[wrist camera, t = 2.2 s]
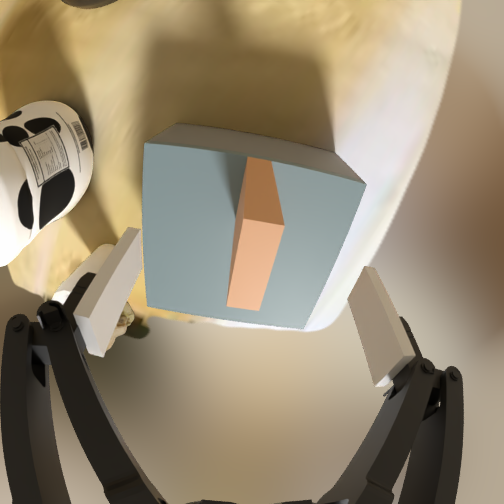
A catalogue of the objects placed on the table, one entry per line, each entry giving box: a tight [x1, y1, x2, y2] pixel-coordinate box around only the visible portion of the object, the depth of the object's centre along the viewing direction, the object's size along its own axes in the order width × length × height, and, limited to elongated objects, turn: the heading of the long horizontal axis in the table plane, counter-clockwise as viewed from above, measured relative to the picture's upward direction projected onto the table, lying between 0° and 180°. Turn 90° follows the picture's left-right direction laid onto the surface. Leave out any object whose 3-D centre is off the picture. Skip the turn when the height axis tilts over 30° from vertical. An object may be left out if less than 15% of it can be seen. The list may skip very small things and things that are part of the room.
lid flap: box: [142, 141, 367, 329], centre depth 24 cm, size 20×20×12 cm
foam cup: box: [52, 244, 115, 305], centre depth 37 cm, size 10×9×13 cm
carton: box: [148, 123, 362, 180], centre depth 33 cm, size 20×20×10 cm
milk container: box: [0, 101, 94, 267], centre depth 24 cm, size 17×17×18 cm
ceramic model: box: [89, 302, 134, 355], centre depth 46 cm, size 14×11×10 cm
